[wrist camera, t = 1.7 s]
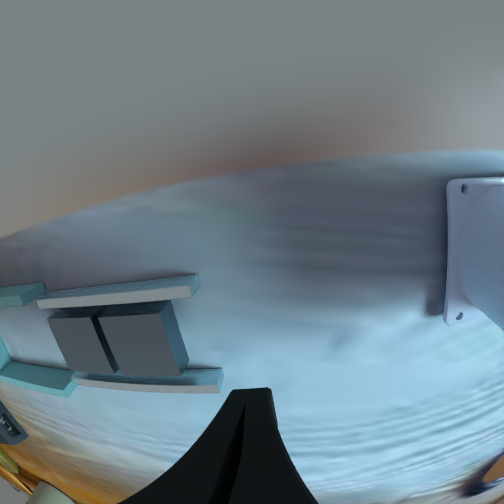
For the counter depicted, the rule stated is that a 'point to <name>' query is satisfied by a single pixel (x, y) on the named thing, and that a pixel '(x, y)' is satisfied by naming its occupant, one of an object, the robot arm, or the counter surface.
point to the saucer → (8, 462)
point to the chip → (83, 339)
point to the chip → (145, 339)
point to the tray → (25, 373)
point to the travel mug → (48, 495)
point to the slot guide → (131, 294)
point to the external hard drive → (10, 428)
